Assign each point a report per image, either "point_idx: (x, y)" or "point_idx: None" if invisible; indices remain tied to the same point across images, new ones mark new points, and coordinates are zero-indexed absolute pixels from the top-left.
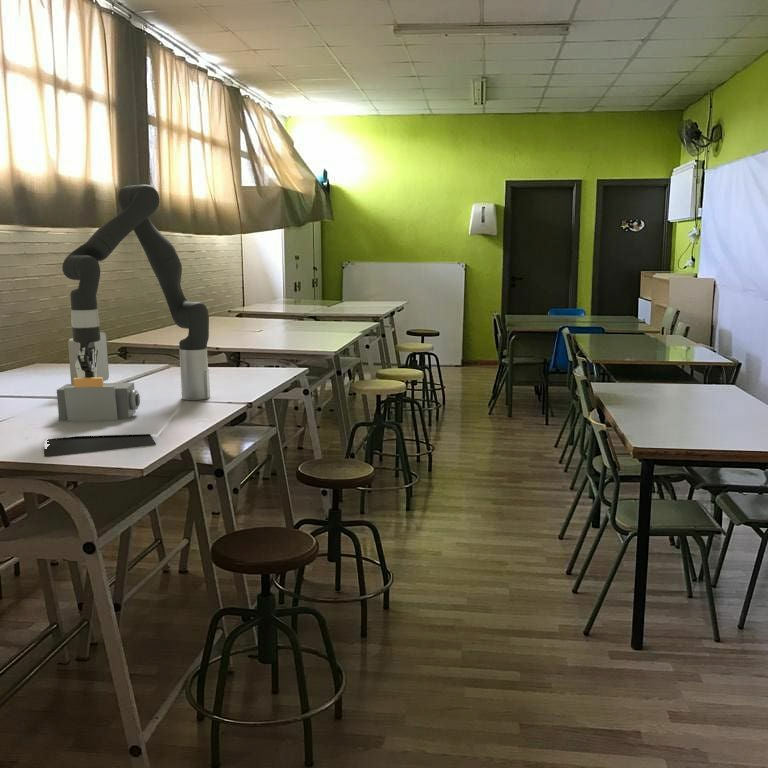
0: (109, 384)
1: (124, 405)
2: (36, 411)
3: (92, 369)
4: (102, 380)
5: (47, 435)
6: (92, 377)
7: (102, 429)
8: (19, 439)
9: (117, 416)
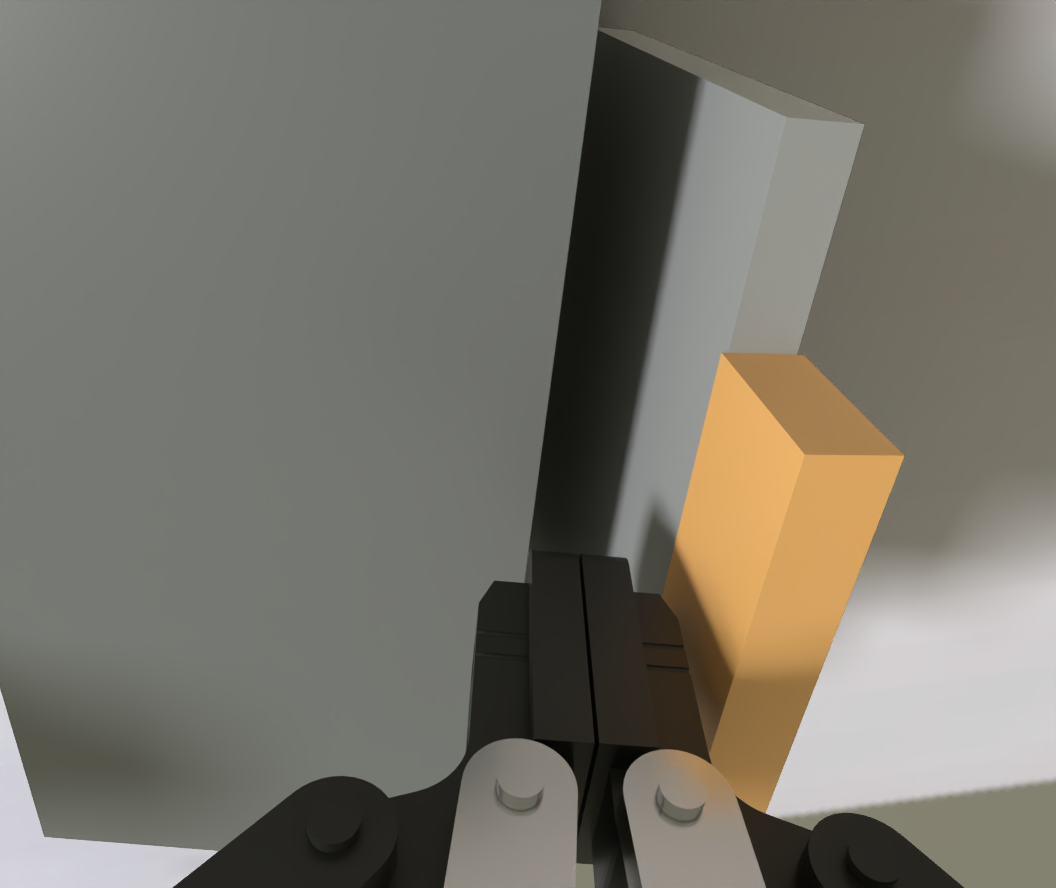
0: (48, 294)
1: None
2: (8, 785)
3: (707, 802)
4: (842, 420)
5: (975, 595)
6: (750, 649)
7: (957, 165)
8: (1014, 730)
9: (612, 31)
